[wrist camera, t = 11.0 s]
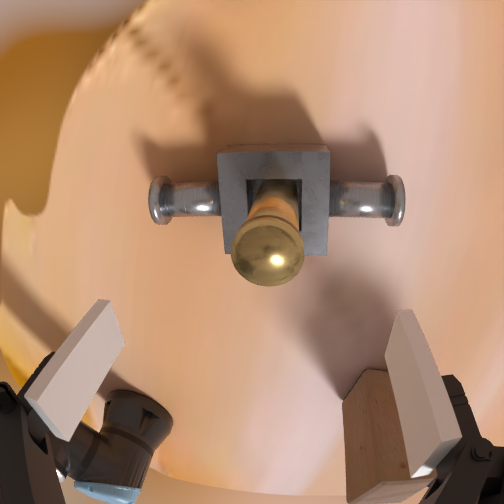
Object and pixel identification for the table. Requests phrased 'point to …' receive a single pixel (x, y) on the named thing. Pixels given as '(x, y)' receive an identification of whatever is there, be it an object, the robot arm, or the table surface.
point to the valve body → (278, 167)
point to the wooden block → (376, 444)
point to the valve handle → (270, 236)
